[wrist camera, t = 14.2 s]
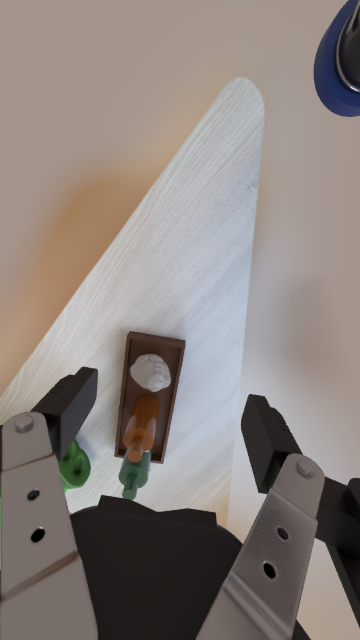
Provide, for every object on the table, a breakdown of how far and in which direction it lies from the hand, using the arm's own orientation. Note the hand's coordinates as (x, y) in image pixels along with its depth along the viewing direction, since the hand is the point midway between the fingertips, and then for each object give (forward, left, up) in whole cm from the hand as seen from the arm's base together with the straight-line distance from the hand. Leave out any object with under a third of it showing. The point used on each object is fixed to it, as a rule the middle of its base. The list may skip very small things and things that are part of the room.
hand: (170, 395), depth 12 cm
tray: (+18, +14, -29) cm, 37 cm away
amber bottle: (+19, +14, -29) cm, 37 cm away
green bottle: (+24, +20, -29) cm, 43 cm away
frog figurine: (+12, +8, -29) cm, 32 cm away
